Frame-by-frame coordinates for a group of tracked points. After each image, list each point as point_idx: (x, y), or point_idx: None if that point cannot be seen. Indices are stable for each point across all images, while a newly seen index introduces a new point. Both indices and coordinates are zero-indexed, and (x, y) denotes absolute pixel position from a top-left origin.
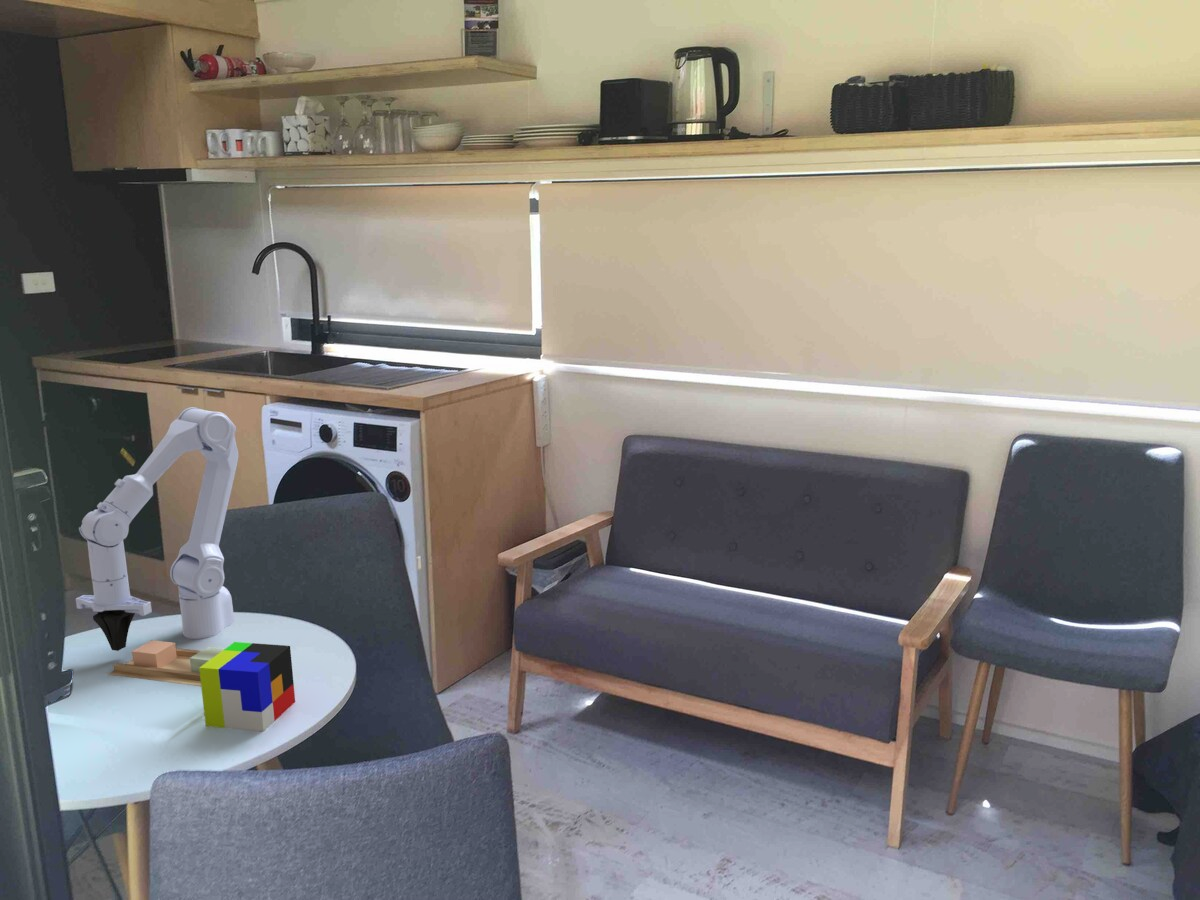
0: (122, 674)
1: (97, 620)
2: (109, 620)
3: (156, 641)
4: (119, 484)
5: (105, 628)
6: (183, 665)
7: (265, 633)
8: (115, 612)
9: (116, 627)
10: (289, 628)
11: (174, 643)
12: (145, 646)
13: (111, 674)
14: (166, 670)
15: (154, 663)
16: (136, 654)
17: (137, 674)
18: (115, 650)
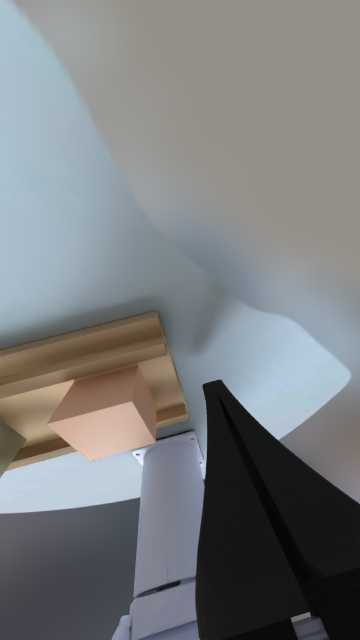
0: (120, 333)
1: (333, 517)
2: (242, 569)
3: (137, 445)
4: None
5: (261, 455)
6: (52, 413)
7: (108, 484)
8: (268, 633)
9: (205, 489)
10: (97, 497)
11: (89, 459)
12: (130, 427)
13: (144, 320)
14: (2, 390)
15: (71, 393)
16: (117, 397)
17: (88, 350)
18: (209, 382)
